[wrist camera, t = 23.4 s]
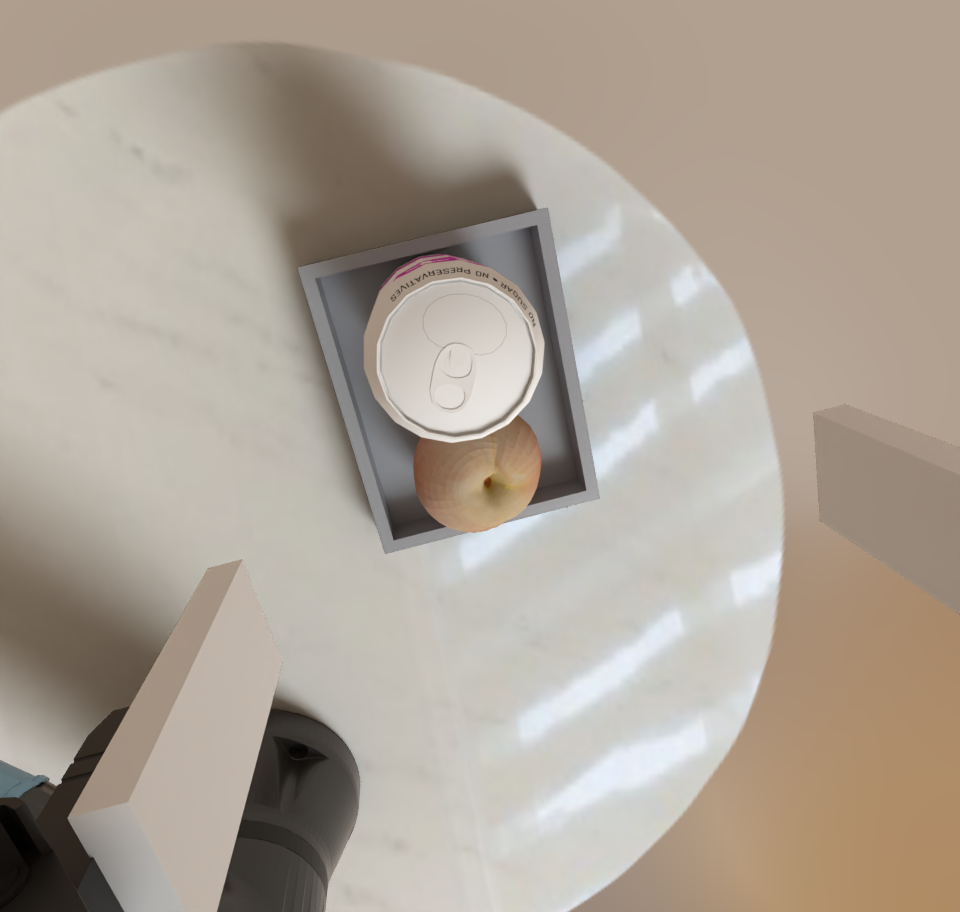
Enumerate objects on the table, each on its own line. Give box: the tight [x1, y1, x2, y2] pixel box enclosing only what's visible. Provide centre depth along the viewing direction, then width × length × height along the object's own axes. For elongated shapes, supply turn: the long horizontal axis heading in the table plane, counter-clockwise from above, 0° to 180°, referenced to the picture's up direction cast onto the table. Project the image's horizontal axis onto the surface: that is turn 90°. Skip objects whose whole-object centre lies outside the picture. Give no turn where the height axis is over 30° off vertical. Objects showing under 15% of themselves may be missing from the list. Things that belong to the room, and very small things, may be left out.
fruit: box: [413, 415, 541, 533], centre depth 42 cm, size 8×8×8 cm
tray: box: [298, 208, 600, 554], centre depth 44 cm, size 15×19×3 cm
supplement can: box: [364, 253, 545, 443], centre depth 36 cm, size 8×8×15 cm
